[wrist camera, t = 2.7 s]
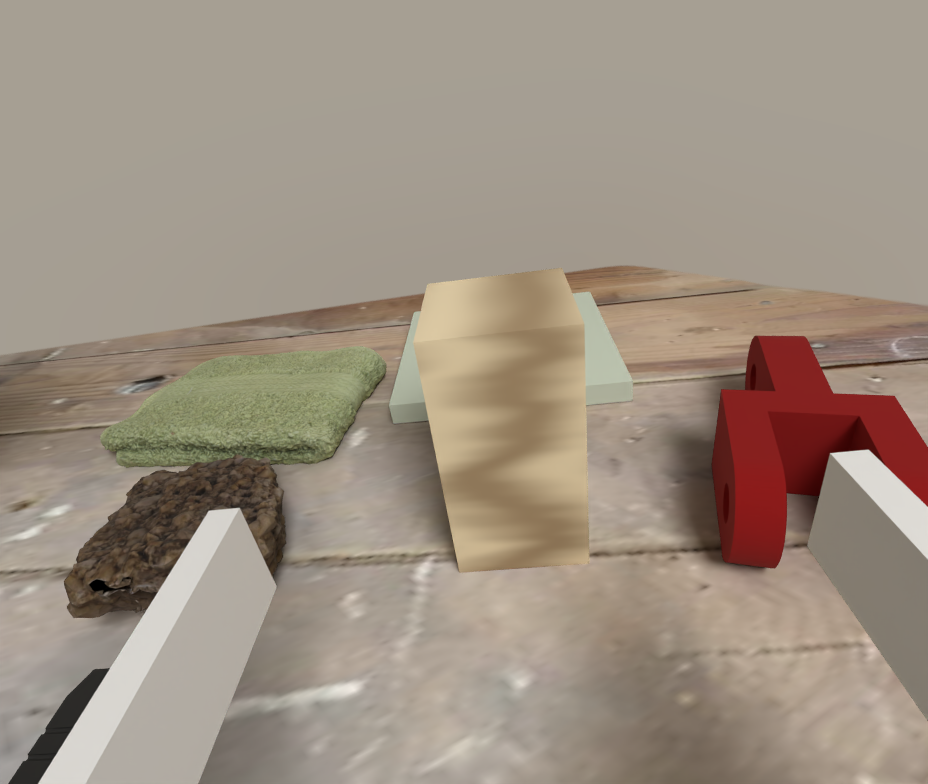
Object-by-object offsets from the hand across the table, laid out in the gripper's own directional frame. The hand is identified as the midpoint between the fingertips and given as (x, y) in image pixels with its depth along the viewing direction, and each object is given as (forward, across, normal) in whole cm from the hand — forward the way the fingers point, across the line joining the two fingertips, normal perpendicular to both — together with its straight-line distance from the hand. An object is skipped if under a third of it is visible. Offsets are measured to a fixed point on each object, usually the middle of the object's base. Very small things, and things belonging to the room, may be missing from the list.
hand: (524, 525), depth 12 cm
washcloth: (+24, -19, -11) cm, 33 cm away
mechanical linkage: (+13, +14, -11) cm, 22 cm away
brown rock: (+11, -17, -11) cm, 23 cm away
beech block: (+11, 0, -11) cm, 15 cm away
